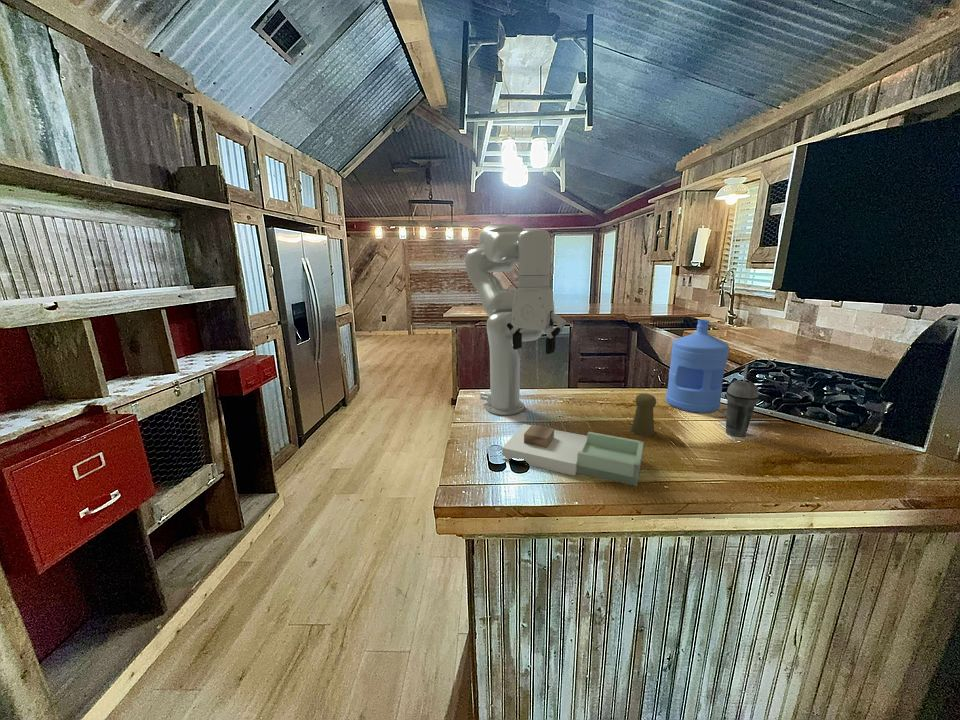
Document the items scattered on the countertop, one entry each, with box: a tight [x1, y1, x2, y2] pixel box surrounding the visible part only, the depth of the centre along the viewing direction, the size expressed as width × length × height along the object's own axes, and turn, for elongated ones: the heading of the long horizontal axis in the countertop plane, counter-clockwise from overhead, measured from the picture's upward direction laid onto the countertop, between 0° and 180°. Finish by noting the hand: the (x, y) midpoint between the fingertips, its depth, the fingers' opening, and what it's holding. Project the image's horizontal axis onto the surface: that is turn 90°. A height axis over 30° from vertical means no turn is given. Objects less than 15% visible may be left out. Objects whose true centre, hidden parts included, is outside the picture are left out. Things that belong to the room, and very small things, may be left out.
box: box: [576, 431, 645, 487], centre depth 89 cm, size 13×12×5 cm
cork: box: [630, 393, 657, 438], centre depth 105 cm, size 6×6×11 cm
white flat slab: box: [501, 423, 587, 476], centre depth 96 cm, size 18×15×3 cm
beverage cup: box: [725, 364, 760, 439], centre depth 101 cm, size 7×7×20 cm
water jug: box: [665, 319, 730, 414], centre depth 121 cm, size 16×16×28 cm
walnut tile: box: [524, 424, 555, 448], centre depth 96 cm, size 6×6×2 cm
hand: (533, 350), depth 97 cm, fingers open, 9 cm apart
